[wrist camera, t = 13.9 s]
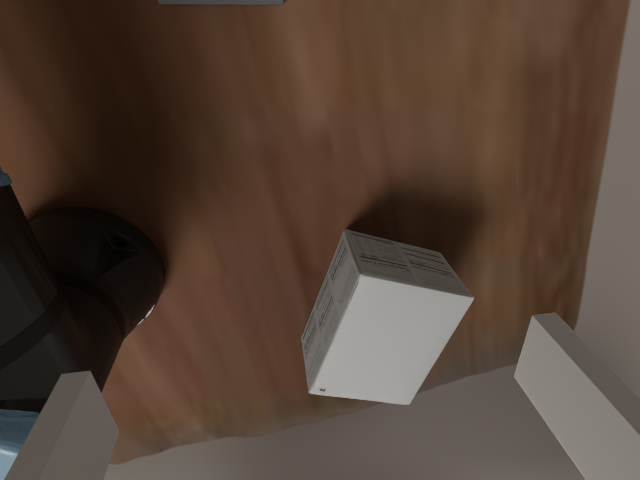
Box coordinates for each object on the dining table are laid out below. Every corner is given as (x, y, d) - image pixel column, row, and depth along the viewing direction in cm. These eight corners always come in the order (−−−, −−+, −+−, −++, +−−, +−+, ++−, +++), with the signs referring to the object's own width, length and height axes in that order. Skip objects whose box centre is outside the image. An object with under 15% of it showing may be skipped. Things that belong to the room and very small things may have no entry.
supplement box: (389, 350, 56) (410, 407, 48) (300, 336, 53) (306, 395, 44) (443, 251, 48) (478, 299, 40) (343, 227, 45) (360, 274, 37)
